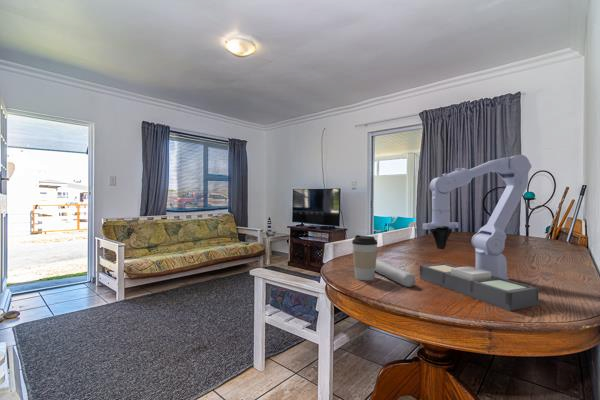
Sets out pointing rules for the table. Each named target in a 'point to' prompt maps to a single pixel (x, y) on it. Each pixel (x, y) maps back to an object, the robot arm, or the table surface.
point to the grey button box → (482, 288)
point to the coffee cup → (364, 257)
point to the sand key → (442, 268)
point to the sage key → (503, 285)
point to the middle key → (471, 273)
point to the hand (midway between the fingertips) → (440, 248)
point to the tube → (395, 273)
